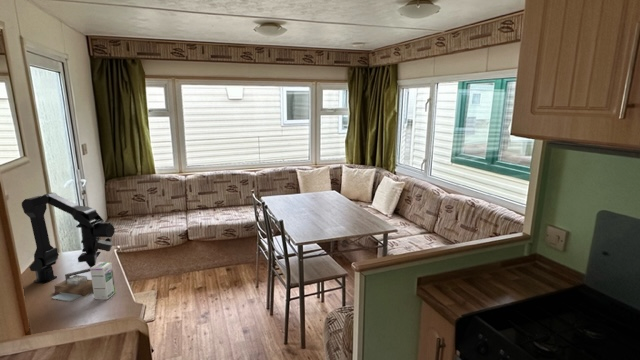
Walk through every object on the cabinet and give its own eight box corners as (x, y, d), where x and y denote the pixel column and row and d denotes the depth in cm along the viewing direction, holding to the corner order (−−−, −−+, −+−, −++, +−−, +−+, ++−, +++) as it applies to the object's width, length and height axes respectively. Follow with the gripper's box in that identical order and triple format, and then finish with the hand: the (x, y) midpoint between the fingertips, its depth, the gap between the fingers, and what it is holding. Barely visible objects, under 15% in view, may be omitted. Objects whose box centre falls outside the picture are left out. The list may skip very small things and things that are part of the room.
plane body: (55, 291, 152) (54, 285, 151) (71, 283, 160) (70, 277, 159) (85, 296, 148) (84, 289, 148) (100, 287, 156) (100, 281, 155)
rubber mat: (51, 298, 146) (51, 297, 146) (62, 293, 151) (62, 292, 151) (70, 301, 144) (70, 300, 144) (81, 295, 149) (81, 295, 149)
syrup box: (107, 299, 146) (103, 267, 143) (93, 299, 146) (89, 267, 143) (115, 293, 151) (112, 261, 149) (102, 292, 151) (98, 261, 149)
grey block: (67, 284, 152) (66, 279, 151) (76, 280, 156) (75, 275, 156) (78, 286, 151) (77, 281, 150) (87, 281, 155) (86, 276, 154)
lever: (66, 283, 153) (64, 273, 152) (65, 281, 155) (64, 271, 154) (97, 275, 161) (96, 265, 160) (96, 273, 162) (95, 264, 161)
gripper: (106, 240, 151) (109, 274, 153) (114, 229, 168) (117, 259, 170) (75, 243, 147) (79, 278, 149) (87, 231, 164) (90, 262, 166)
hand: (93, 269), depth 159 cm, fingers closed
